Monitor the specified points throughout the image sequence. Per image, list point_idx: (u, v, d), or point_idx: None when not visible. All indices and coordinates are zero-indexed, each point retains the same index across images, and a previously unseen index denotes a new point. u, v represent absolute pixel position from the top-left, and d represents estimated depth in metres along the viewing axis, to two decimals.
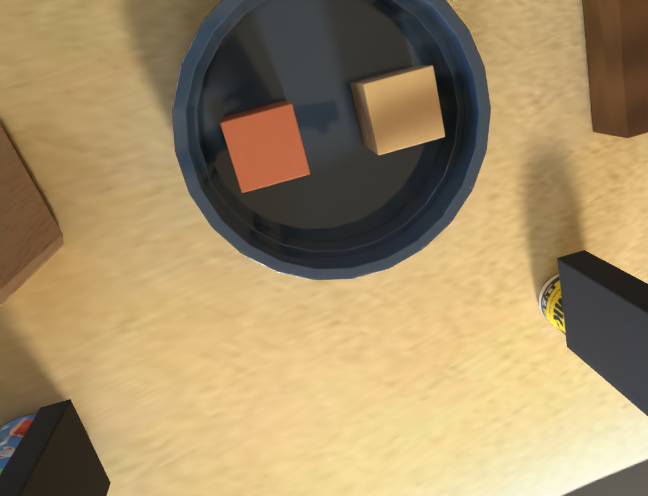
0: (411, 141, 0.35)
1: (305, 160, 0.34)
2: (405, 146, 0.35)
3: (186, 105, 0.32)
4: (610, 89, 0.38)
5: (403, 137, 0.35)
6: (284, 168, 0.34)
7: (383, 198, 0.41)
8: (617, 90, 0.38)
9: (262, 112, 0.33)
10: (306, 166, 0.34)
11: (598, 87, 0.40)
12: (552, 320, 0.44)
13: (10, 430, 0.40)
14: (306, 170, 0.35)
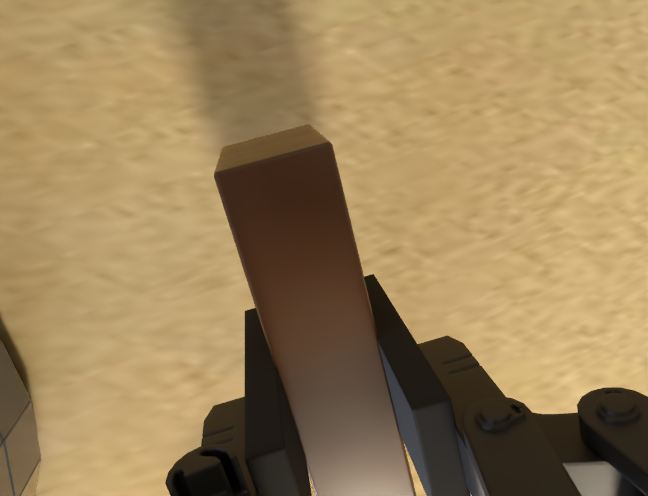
0: None
1: None
2: None
3: None
4: None
5: None
6: None
7: None
8: None
9: None
10: None
11: None
12: None
13: None
14: None
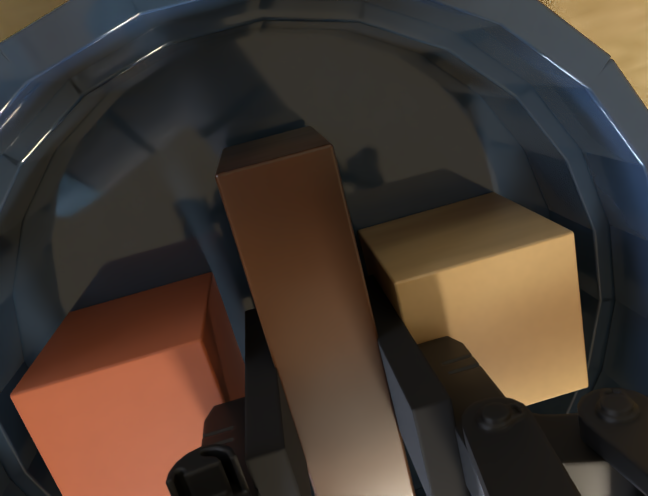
0: None
1: None
2: None
3: None
4: None
5: None
6: None
7: None
8: None
9: (122, 364, 0.13)
10: None
11: None
12: None
13: None
14: None
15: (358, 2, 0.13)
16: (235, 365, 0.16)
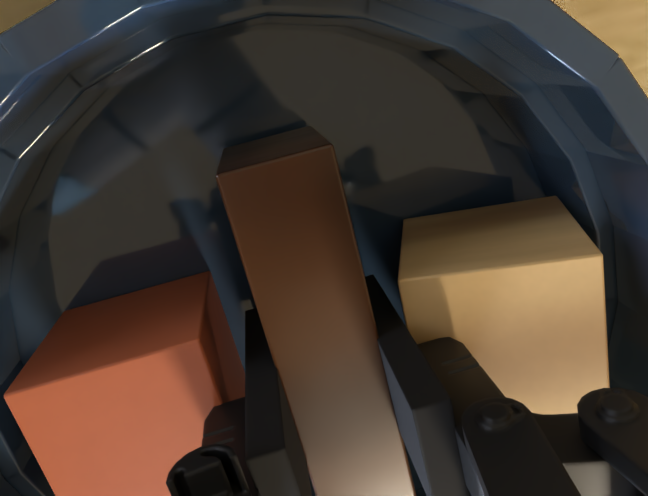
0: None
1: None
2: None
3: None
4: None
5: None
6: None
7: None
8: None
9: (119, 364, 0.12)
10: None
11: None
12: None
13: None
14: None
15: None
16: (233, 365, 0.16)
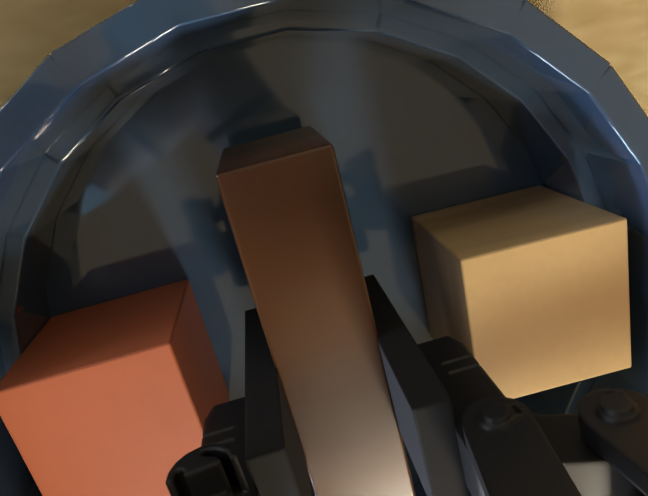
0: (556, 378, 0.15)
1: None
2: (542, 388, 0.15)
3: None
4: None
5: (541, 371, 0.15)
6: (159, 477, 0.15)
7: None
8: None
9: (95, 365, 0.13)
10: None
11: None
12: None
13: None
14: None
15: (375, 13, 0.14)
16: (208, 368, 0.17)
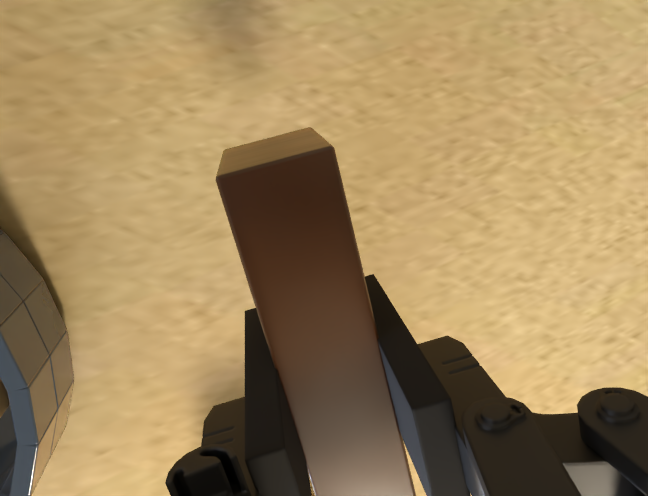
0: None
1: None
2: None
3: None
4: None
5: None
6: None
7: None
8: None
9: None
10: None
11: None
12: None
13: None
14: None
15: None
16: None
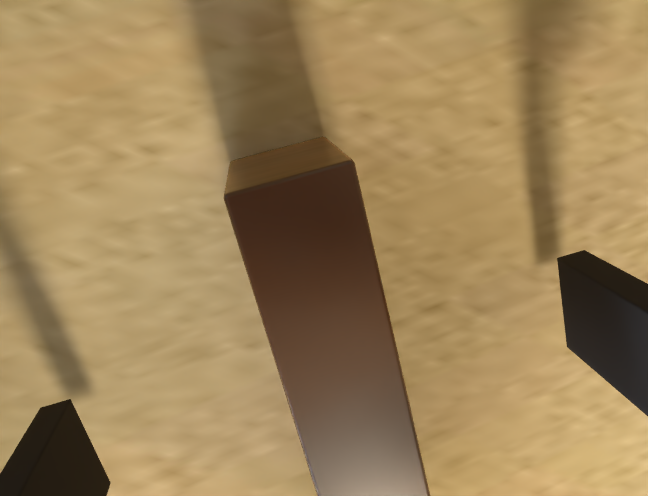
0: None
1: None
2: None
3: None
4: None
5: None
6: None
7: None
8: None
9: None
10: None
11: None
12: None
13: None
14: None
15: None
16: None
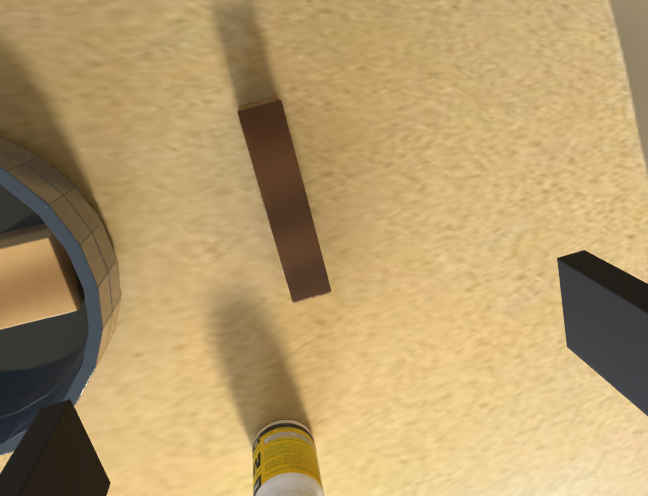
0: (35, 315, 0.31)
1: None
2: (29, 320, 0.31)
3: None
4: None
5: (25, 311, 0.31)
6: None
7: (42, 356, 0.36)
8: None
9: None
10: None
11: None
12: None
13: None
14: None
15: None
16: None
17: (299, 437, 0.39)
